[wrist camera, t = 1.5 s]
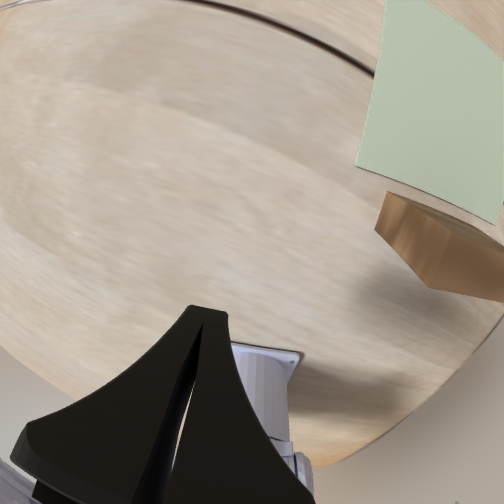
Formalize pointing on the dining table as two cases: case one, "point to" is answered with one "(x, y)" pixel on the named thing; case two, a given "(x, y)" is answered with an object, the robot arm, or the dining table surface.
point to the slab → (443, 248)
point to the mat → (437, 109)
